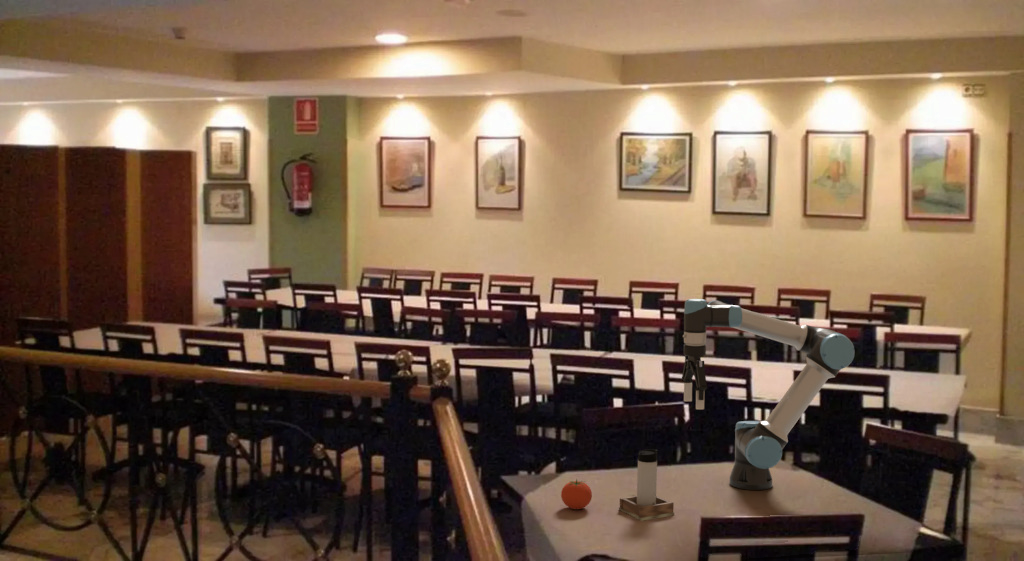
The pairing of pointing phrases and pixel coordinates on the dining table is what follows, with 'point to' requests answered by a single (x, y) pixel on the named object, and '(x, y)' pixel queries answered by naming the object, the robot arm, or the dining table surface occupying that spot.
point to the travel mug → (647, 477)
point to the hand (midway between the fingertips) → (693, 405)
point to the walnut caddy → (646, 508)
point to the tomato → (576, 494)
